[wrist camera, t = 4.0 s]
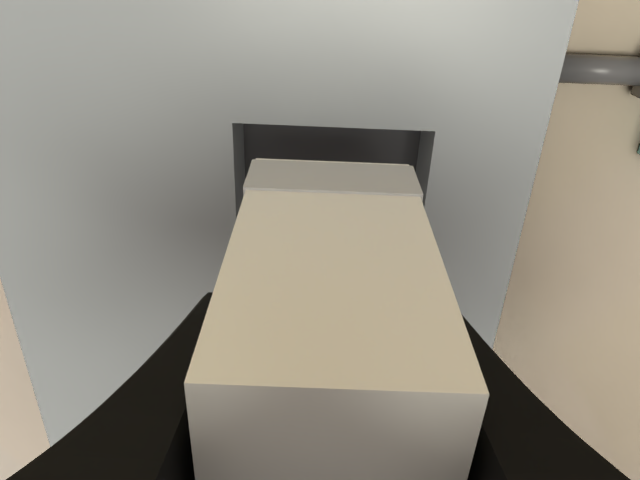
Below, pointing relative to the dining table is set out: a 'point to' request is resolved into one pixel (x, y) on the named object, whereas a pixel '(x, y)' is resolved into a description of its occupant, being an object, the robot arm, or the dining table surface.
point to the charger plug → (333, 336)
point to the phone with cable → (602, 71)
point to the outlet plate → (243, 151)
